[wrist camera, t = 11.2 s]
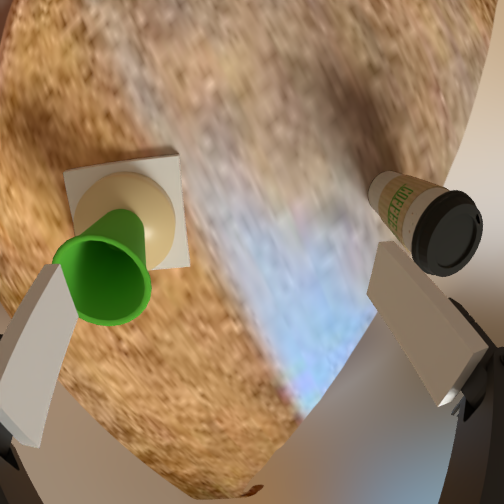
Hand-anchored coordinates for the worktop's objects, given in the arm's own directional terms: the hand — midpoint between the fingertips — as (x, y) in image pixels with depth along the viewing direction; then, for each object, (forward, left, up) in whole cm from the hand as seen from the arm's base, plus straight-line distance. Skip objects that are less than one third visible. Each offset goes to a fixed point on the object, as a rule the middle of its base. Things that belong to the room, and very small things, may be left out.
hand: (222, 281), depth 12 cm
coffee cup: (+6, +24, -26) cm, 36 cm away
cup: (+7, -10, -22) cm, 25 cm away
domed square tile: (+7, -10, -26) cm, 28 cm away
